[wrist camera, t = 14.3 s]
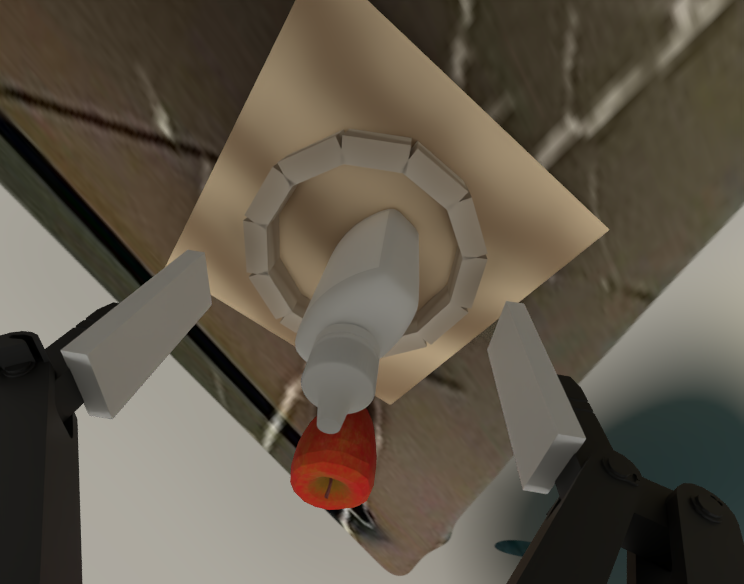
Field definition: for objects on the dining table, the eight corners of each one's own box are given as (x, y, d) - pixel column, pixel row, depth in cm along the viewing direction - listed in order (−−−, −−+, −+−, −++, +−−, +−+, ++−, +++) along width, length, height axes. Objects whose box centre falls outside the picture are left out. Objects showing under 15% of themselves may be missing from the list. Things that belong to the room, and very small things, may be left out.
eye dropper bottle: (312, 225, 20) (207, 384, 10) (411, 200, 19) (406, 354, 9) (337, 290, 22) (272, 477, 12) (428, 272, 21) (440, 465, 11)
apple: (333, 371, 29) (310, 457, 22) (396, 406, 30) (391, 497, 24) (297, 413, 32) (268, 498, 25) (357, 442, 33) (343, 531, 27)
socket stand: (329, -34, 16) (305, -62, 12) (593, 216, 20) (628, 245, 17) (183, 252, 24) (145, 282, 21) (392, 385, 29) (388, 427, 25)
